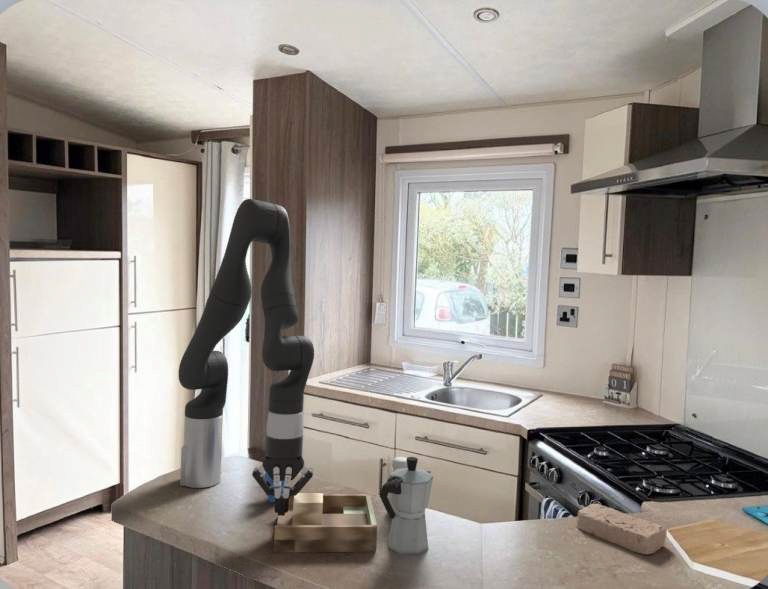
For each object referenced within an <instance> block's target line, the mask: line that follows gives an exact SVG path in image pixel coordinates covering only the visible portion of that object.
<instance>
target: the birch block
mask: <svg viewBox="0 0 768 589" xmlns="http://www.w3.org/2000/svg"><path fill="white" fill-rule="evenodd" d="M323 494H324V493H322V492H299V493H298V494H297V495H295V496H294V501H293V522H292V525H322V510H323Z"/></svg>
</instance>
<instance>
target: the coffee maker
mask: <svg viewBox="0 0 768 589" xmlns="http://www.w3.org/2000/svg"><path fill="white" fill-rule="evenodd" d="M406 459H407V466H408V468H403V469H396V470H395V471H394V470H393V471H392V472H390V474H389V477H388V478H387V480H386V482H385V483H384V484H383V485H382V487H381V489H380V492H379V495H378V496H379V498H380V500H381V502H382V504H383V506H384V509H385V510H386V513H387V515H388V517H389V518H390V519H391V520H392V521H391V525H390V530H389V535H388V538H387V539H388V543H387V544H388V549H390V550H392V551H394V552H396V553H398V554H399V555H408V556H410V555H411V556H419V555H420V554H423V553H424V552H425V553H426V551H429V544H428V542H429V541H428V533H427V531H428V530H427V521H426V519H427V518H426V509H427V508H428V506H429V502H430V501H429V500H430V496H431V490H432V484H433V480H434V476H433V475H432V473H433V471H432V470H431V471H430V470H424V469H419V468H417V465H418V460H419V458H417V457H414V456H407V457H406ZM389 493H392V504H393V506H394V507H395V510H393V508H392V506H391V504H390V502H389V500H388V494H389Z"/></svg>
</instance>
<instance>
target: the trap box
mask: <svg viewBox="0 0 768 589" xmlns="http://www.w3.org/2000/svg"><path fill="white" fill-rule="evenodd" d="M281 495H282V496H283V494H281ZM293 501H294V495H293V496H290V497H289V509H288V512H287V513H285V516H278V515H277V522H276V523H277V524H276V525H275V526H274V536H273V537H274V538H273V540H274V541H273V542H274V544H273V553H340V552H341V553H349V552H351V553H353V552H362V553H363V552H377V541H378V540H377V537H378V524H377V520H376V516H375V511H374V507H373V502H372V498H371V494H370V493H369V494H368V493H363V494H362V493H342V494H341V493H335V494H334V493H332V494H331V493H323V510H322V525H292V522H293Z"/></svg>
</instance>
